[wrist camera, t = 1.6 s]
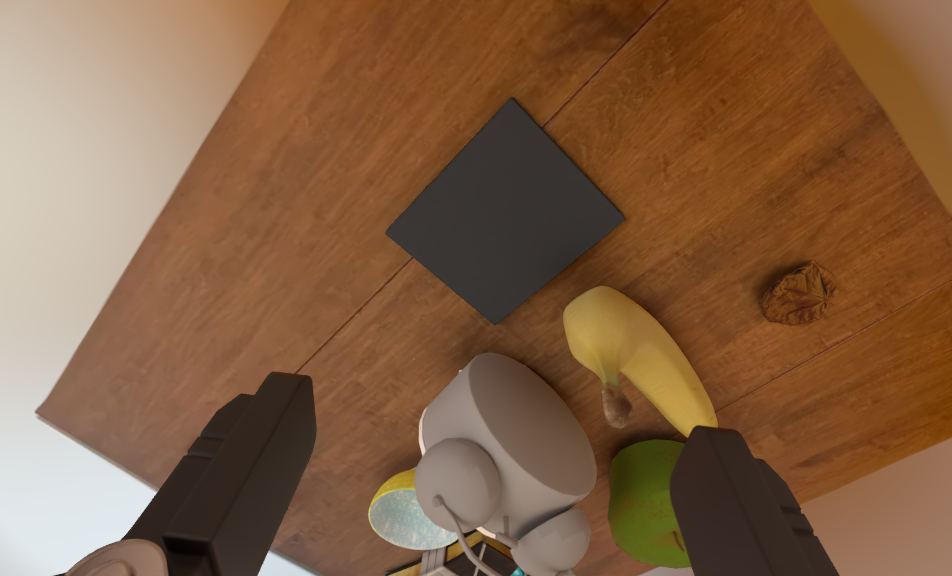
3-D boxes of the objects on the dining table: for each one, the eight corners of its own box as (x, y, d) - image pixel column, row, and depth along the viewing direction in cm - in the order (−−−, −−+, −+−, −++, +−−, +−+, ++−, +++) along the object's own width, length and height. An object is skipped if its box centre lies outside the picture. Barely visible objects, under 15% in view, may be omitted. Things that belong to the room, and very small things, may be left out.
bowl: (470, 450, 58) (466, 494, 53) (466, 509, 64) (462, 555, 59) (378, 441, 59) (364, 485, 53) (382, 501, 64) (370, 546, 59)
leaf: (787, 331, 47) (798, 341, 46) (740, 302, 45) (750, 312, 43) (840, 280, 45) (854, 289, 43) (793, 247, 42) (806, 255, 41)
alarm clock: (424, 362, 52) (374, 566, 33) (474, 311, 48) (450, 507, 29) (538, 435, 56) (552, 651, 37) (592, 393, 52) (637, 611, 34)
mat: (387, 229, 44) (384, 233, 43) (511, 96, 38) (511, 98, 37) (495, 320, 48) (494, 325, 48) (623, 215, 42) (626, 219, 41)
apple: (697, 410, 53) (739, 501, 43) (715, 480, 58) (756, 576, 48) (586, 436, 56) (601, 526, 46) (613, 500, 61) (632, 594, 51)
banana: (715, 384, 51) (819, 577, 33) (666, 408, 53) (739, 602, 36) (592, 231, 43) (644, 380, 26) (540, 268, 45) (556, 428, 28)
